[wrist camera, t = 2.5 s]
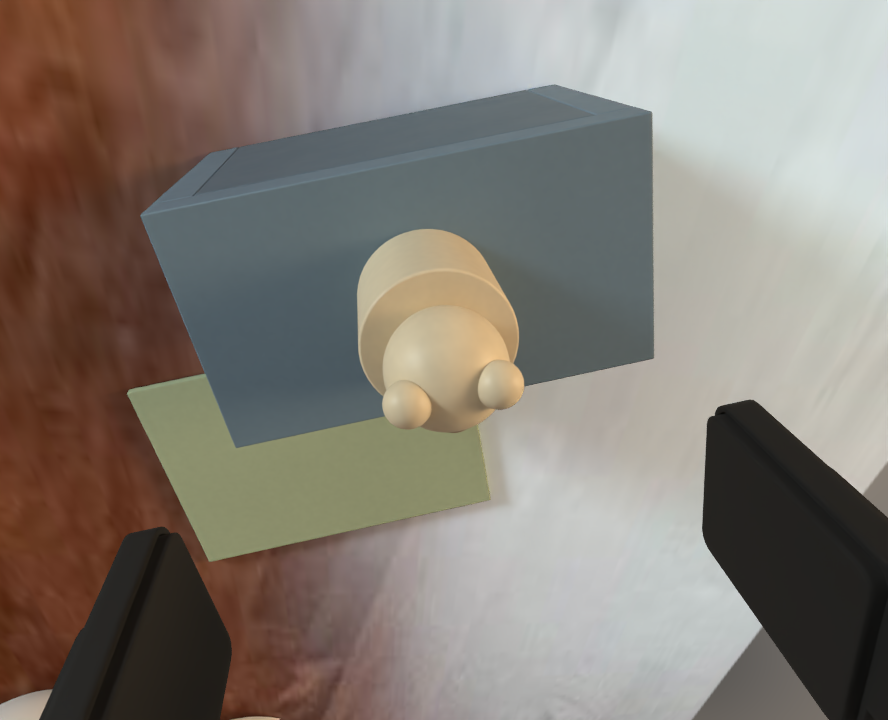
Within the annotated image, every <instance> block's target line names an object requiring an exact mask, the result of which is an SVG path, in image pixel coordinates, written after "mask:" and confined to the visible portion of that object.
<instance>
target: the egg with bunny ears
mask: <svg viewBox="0 0 888 720" xmlns="http://www.w3.org/2000/svg"><path fill="white" fill-rule="evenodd" d="M52 690H53V689H51V690H43V691H37V692H33V693H29V694H26V695H23V696H20V697H17V698H14V699H12V700H9V701H7V702H5V703H3V704H1V705H0V720H39V719H40V716H41V714H42V712H43V710H44V708H45V705H46V703H47V701H48V699H49V697H50V694H51V692H52ZM279 719H280V718H273V717H259V716H255V717H243V718H237V719H231V720H279Z"/></svg>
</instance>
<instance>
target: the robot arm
mask: <svg viewBox="0 0 888 720" xmlns="http://www.w3.org/2000/svg"><path fill="white" fill-rule="evenodd" d="M702 531H703V537H704V540H705V543H706V545H707V547H708V549H709V550H710V552H711V553H712V555H713V556H714V558H715V559H716V560H717V562H718V563H719V565H720V566H721V568H722V569H723V570H724V572H725V573H726V575H727V576H728V578H729V579H730V580H731V582H732V583H733V585H734V586H735V588H736V589H737V590H738V592H739V593H740V595H741V596H742V597H743V599H744V600H745V602H746V603H747V605H748V606H749V607H750V609H751V610H752V612H753V613H754V615H755V616H756V617H757V619H758V620H759V622H760V623H761V625H762V626H763V627H764V629H765V630H766V632H767V633H768V634H769V636H770V637H771V639H772V640H773V641H774V643H775V644H776V646H777V647H778V649H779V650H780V652H781V653H782V654H783V656H784V657H785V659H786V660H787V662H788V663H789V664H790V666H791V667H792V669H793V670H794V671H795V673H796V674H797V676H798V677H799V679H800V680H801V681H802V683H803V684H804V685H805V687H806V689H807V690H808V691H809V693H810V694H811V696H812V697H813V699H814V700H815V701H816V703H817V704H818V705H819V707H820V708H821V710H822V711H823V712H824V714H825V715H826V717H827V718H828V719H829V720H888V518H887V517H886V516H885V515H884V514H883V513H882V512H880V510H878V509H877V508H876V507H875V506H874V505H873V504H872V503H871V502H870V501H868V500H867V499H866V498H865V497H864V496H863V495H862V494H861V493H859V492H858V491H857V490H856V489H855V488H854V487H853V486H852V485H850V484H849V483H848V482H847V481H846V480H845V479H844V478H843V477H842V476H840V475H839V474H838V473H837V472H836V471H835V470H833V469H832V468H831V467H829V466H828V465H827V464H825V463H824V462H823V461H822V460H821V459H820V458H819V457H818V456H816V455H815V454H814V453H813V452H812V451H811V450H810V449H809V448H808V447H806V446H805V445H804V444H803V443H802V442H801V441H800V440H799V439H798V438H796V437H795V436H794V435H793V434H792V433H791V432H790V431H789V430H787V429H786V428H785V427H784V426H783V425H782V424H781V423H780V422H779V421H777V420H776V419H775V418H774V417H773V416H772V415H771V414H770V413H768V412H767V411H766V410H765V409H764V408H763V407H762V406H761V405H760V404H758V403H757V402H755V401H754V400H746V401H741V402H737V403H732V404H727V405H723V406H720V407H718V408H717V410H716V412H715V416H711V417H709V419H708V422H707V437H706V459H705V480H704V502H703V524H702ZM231 655H232V648H231V641H230V637H229V634H228V632H227V630H226V628H225V626H224V624H223V622H222V620H221V618H220V616H219V614H218V612H217V610H216V608H215V605H214V603H213V601H212V599H211V597H210V595H209V593H208V591H207V589H206V587H205V585H204V583H203V581H202V579H201V577H200V575H199V572H198V570H197V568H196V566H195V564H194V562H193V560H192V558H191V556H190V554H189V552H188V550H187V548H186V546H185V544H184V542H183V540H182V538H181V536H180V535H179V534H178V533H171V534H170V532H169V531H168V529H166V528H165V527H158V528H153V529H148V530H144V531H139V532H134V533H130V534H128V535H127V536H126V537H125V538H124V540H123V542H122V544H121V546H120V548H119V551H118V553H117V555H116V557H115V560H114V562H113V564H112V566H111V569H110V571H109V573H108V575H107V577H106V580H105V582H104V584H103V586H102V589H101V591H100V593H99V595H98V598H97V600H96V602H95V604H94V607H93V609H92V611H91V613H90V616H89V618H88V620H87V622H86V624H85V627H84V628H83V629H82V630H81V631H80V633H79V634H78V636H77V637H76V639H75V641H74V644H73V646H72V648H71V650H70V652H69V655H68V657H67V659H66V661H65V663H64V666H63V668H62V670H61V672H60V674H59V677H58V679H57V681H56V683H55V685H54V688H53V690H52V692H51V694H50V697H49V699H48V701H47V703H46V705H45V708H44V710H43V712H42V714H41V716H40V719H39V720H220V715H221V710H222V704H223V699H224V694H225V688H226V683H227V678H228V672H229V667H230V662H231Z"/></svg>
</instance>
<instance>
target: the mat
mask: <svg viewBox="0 0 888 720" xmlns="http://www.w3.org/2000/svg"><path fill="white" fill-rule="evenodd" d="M127 394H128V396H129V399H130V401H131V403H132V405H133V407H134V409H135V411H136V413H137V415H138V417H139V419H140V421H141V423H142V425H143V427H144V429H145V431H146V433H147V435H148V437H149V439H150V441H151V443H152V446H153V448H154V450H155V452H156V454H157V456H158V458H159V460H160V462H161V464H162V466H163V468H164V470H165V472H166V474H167V476H168V478H169V480H170V482H171V484H172V486H173V488H174V490H175V493H176V495H177V497H178V499H179V501H180V503H181V505H182V507H183V509H184V511H185V513H186V515H187V517H188V519H189V521H190V523H191V525H192V527H193V529H194V531H195V533H196V535H197V537H198V540H199V542H200V544H201V546H202V548H203V550H204V552H205V554H206V556H207V558H208V560H209V562H211V561H216V560H221V559H225V558H230V557H234V556H239V555H243V554H248V553H252V552H257V551H261V550H266V549H270V548H275V547H279V546H284V545H288V544H293V543H298V542H302V541H307V540H311V539H316V538H320V537H325V536H329V535H334V534H338V533H343V532H347V531H352V530H356V529H361V528H366V527H370V526H375V525H379V524H384V523H388V522H393V521H397V520H402V519H406V518H411V517H415V516H420V515H424V514H429V513H433V512H438V511H443V510H447V509H452V508H456V507H461V506H465V505H470V504H474V503H479V502H483V501H488V500H490V493H489V487H488V482H487V476H486V470H485V464H484V459H483V453H482V447H481V441H480V436H479V430H478V424H477V425H475V426H473V427H471V428H469V429H466V430H464V431H462V432H459V433H445V432H435V431H430V430H427V429H424V428H421V427H417V428H415V429H408V430H407V429H400V428H397V427H395V426H394V425H392V424H391V423H390V422H389V421H388V420H387V418H386V417H385V416H384V417H379V418H375V419H370V420H365V421H361V422H356V423H351V424H347V425H342V426H337V427H333V428H328V429H323V430H319V431H314V432H310V433H305V434H300V435H296V436H291V437H286V438H282V439H277V440H272V441H268V442H263V443H258V444H254V445H249V446H244V447H240V448H236V447H235V445H234V443H233V440H232V438H231V436H230V433H229V431H228V428H227V426H226V423H225V421H224V418H223V416H222V414H221V411H220V409H219V406H218V404H217V401H216V399H215V397H214V394H213V392H212V389H211V387H210V384H209V382H208V380H207V377H206V375H205V374H201V375H196V376H191V377H187V378H182V379H177V380H172V381H168V382H163V383H158V384H153V385H149V386H144V387H139V388H134V389H130V390H129V391H128V393H127Z"/></svg>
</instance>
